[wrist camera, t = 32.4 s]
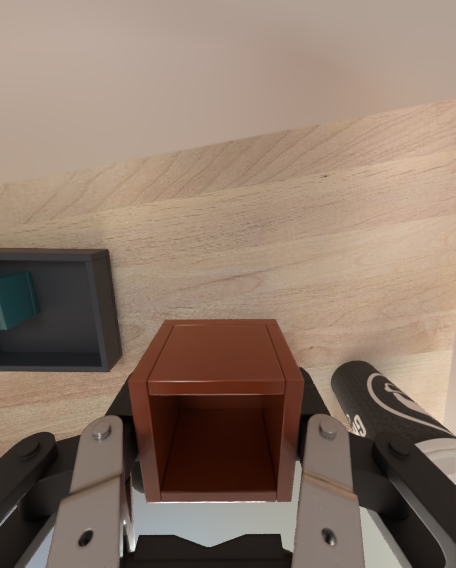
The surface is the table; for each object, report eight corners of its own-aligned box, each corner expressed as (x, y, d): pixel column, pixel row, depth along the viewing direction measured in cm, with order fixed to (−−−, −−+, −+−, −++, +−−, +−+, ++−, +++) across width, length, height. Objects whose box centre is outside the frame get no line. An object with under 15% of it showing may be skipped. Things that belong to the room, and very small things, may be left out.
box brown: (164, 319, 11) (127, 381, 7) (275, 318, 11) (304, 380, 7) (172, 408, 13) (145, 503, 9) (270, 408, 13) (291, 502, 9)
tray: (-32, 247, 27) (-70, 251, 24) (108, 249, 27) (90, 253, 24) (0, 354, 31) (-28, 371, 28) (122, 355, 31) (109, 372, 28)
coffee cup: (318, 356, 32) (395, 472, 17) (388, 346, 31) (528, 456, 17) (321, 411, 34) (391, 551, 20) (386, 402, 34) (505, 539, 19)
